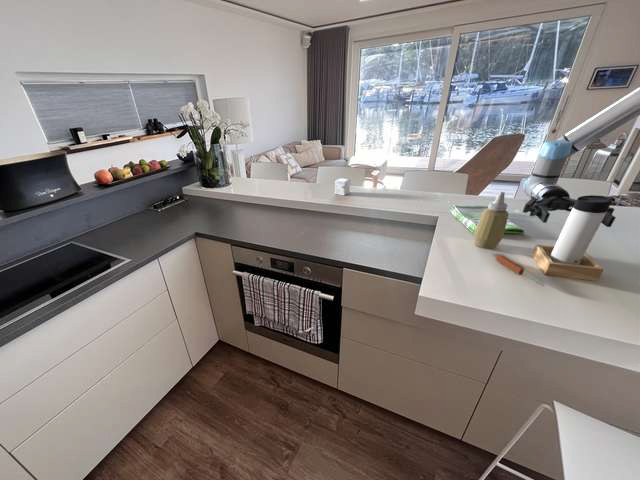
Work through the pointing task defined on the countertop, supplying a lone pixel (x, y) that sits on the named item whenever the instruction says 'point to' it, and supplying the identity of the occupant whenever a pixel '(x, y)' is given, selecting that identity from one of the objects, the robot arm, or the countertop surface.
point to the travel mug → (580, 228)
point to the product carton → (342, 186)
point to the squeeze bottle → (492, 224)
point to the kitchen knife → (517, 268)
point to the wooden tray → (566, 265)
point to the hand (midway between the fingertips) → (577, 220)
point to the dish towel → (473, 215)
